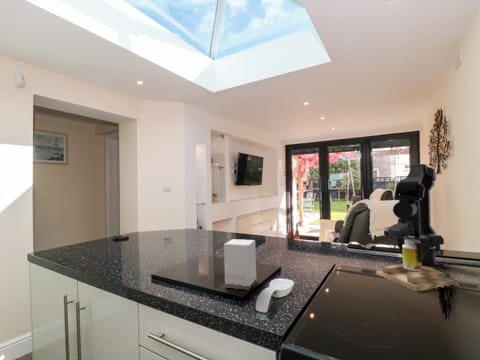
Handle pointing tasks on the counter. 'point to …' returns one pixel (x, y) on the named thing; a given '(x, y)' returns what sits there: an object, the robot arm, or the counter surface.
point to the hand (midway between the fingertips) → (412, 259)
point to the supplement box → (240, 262)
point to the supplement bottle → (410, 255)
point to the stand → (415, 277)
